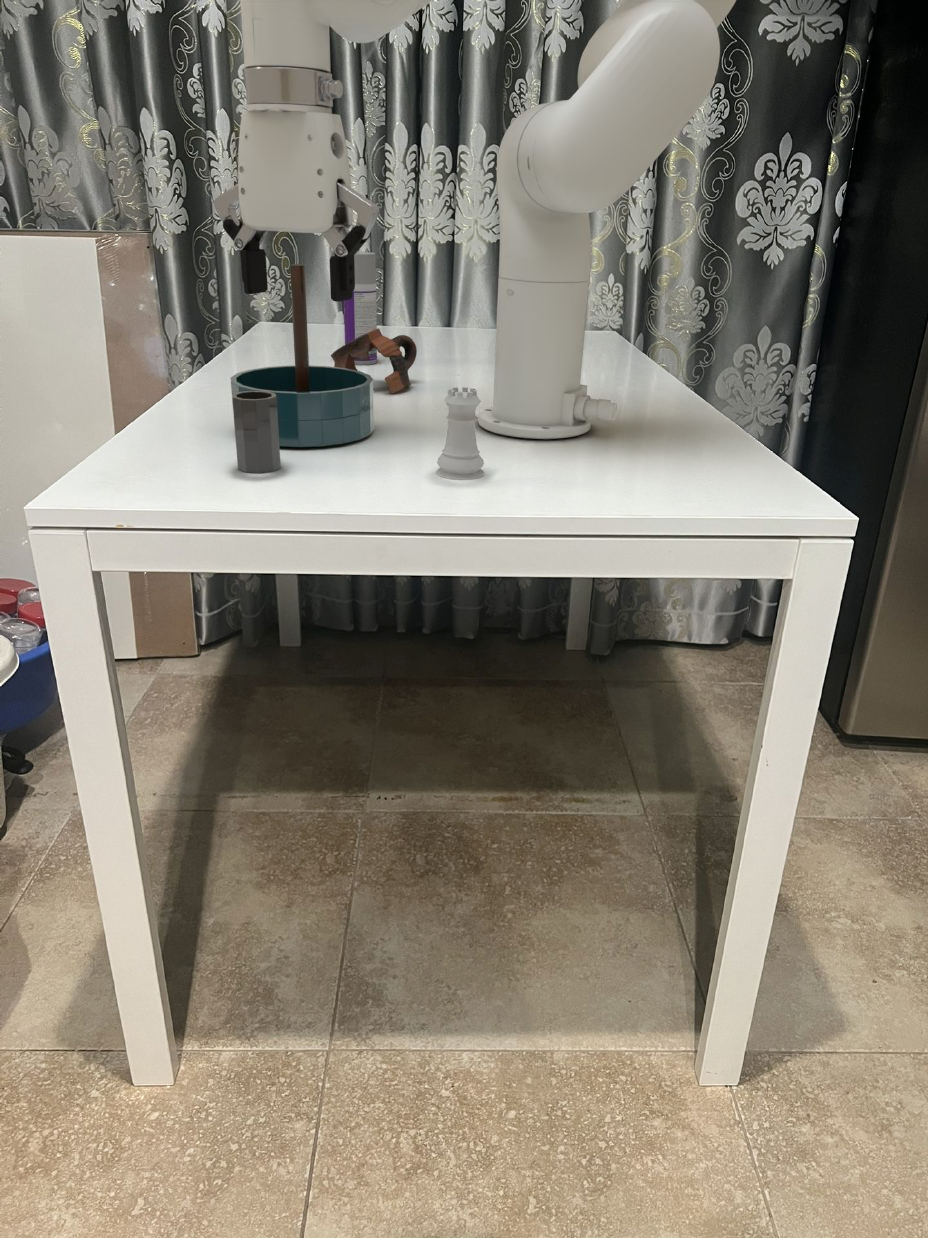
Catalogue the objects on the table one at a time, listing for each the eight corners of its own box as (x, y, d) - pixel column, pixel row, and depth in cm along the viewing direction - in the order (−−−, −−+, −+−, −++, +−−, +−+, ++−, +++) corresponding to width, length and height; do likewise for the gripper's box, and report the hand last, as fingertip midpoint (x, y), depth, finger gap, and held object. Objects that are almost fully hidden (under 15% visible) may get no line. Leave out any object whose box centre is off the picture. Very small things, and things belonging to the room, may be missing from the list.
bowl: (395, 429, 98) (395, 373, 96) (331, 462, 87) (328, 399, 84) (283, 414, 103) (280, 360, 100) (206, 443, 91) (201, 383, 89)
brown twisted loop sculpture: (381, 402, 112) (347, 340, 110) (343, 422, 120) (311, 365, 118) (444, 365, 119) (414, 307, 117) (405, 386, 126) (375, 331, 124)
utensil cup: (289, 469, 84) (284, 393, 81) (265, 480, 81) (259, 401, 78) (254, 464, 85) (248, 388, 82) (229, 475, 82) (222, 397, 79)
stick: (314, 428, 95) (307, 264, 88) (307, 431, 94) (299, 265, 87) (302, 426, 95) (294, 263, 88) (295, 429, 94) (287, 264, 87)
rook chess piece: (447, 486, 81) (449, 396, 77) (428, 472, 84) (429, 385, 81) (492, 482, 82) (496, 393, 79) (472, 468, 86) (475, 383, 82)
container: (342, 359, 135) (339, 251, 129) (372, 358, 137) (370, 251, 130) (349, 365, 131) (347, 253, 125) (380, 364, 133) (379, 254, 126)
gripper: (394, 99, 82) (394, 299, 89) (232, 98, 87) (245, 287, 95) (354, 91, 75) (358, 307, 83) (182, 91, 81) (201, 293, 88)
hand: (298, 296), depth 89 cm, fingers open, 9 cm apart
